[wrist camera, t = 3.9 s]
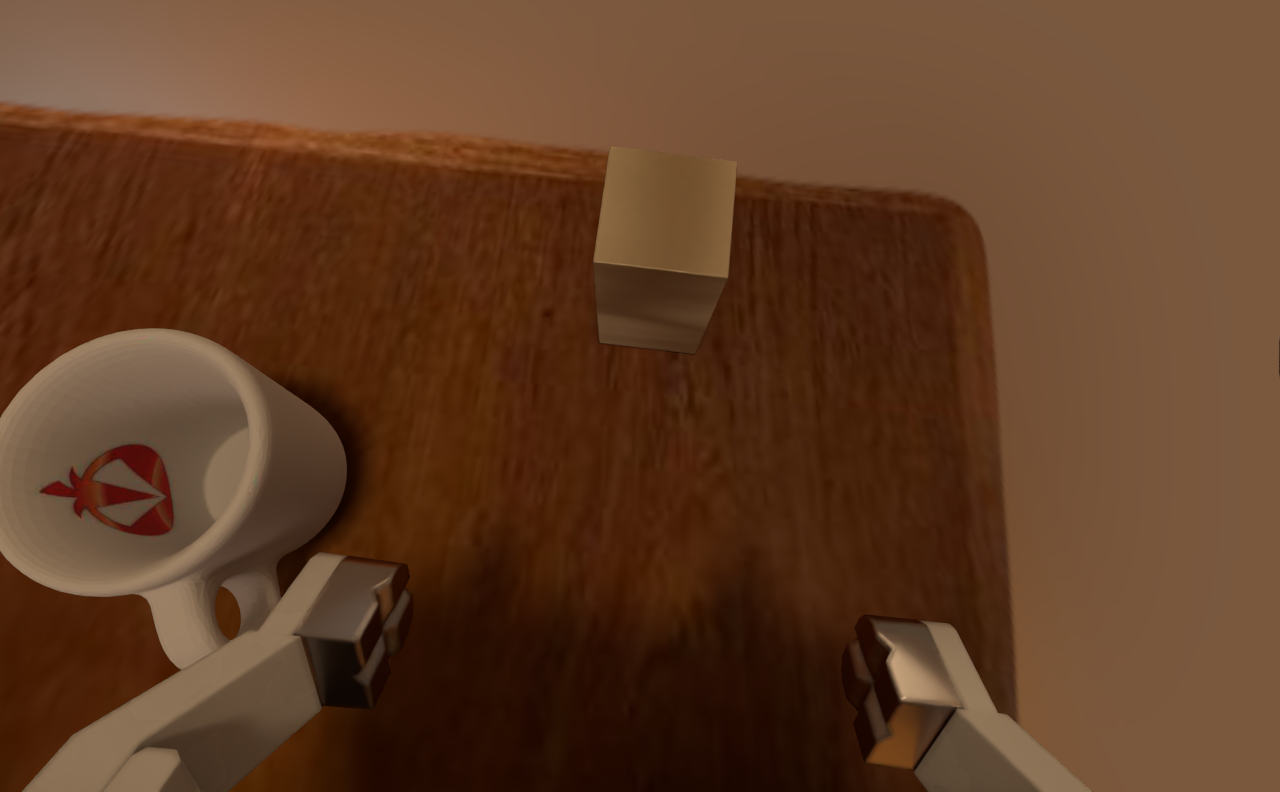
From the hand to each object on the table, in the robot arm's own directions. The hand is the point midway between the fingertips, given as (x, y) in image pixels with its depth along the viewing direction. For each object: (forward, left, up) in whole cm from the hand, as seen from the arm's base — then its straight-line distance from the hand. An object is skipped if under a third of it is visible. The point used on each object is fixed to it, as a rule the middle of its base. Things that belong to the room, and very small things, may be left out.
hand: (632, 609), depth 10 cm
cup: (+14, -5, -14) cm, 20 cm away
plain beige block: (-3, -12, -14) cm, 19 cm away
